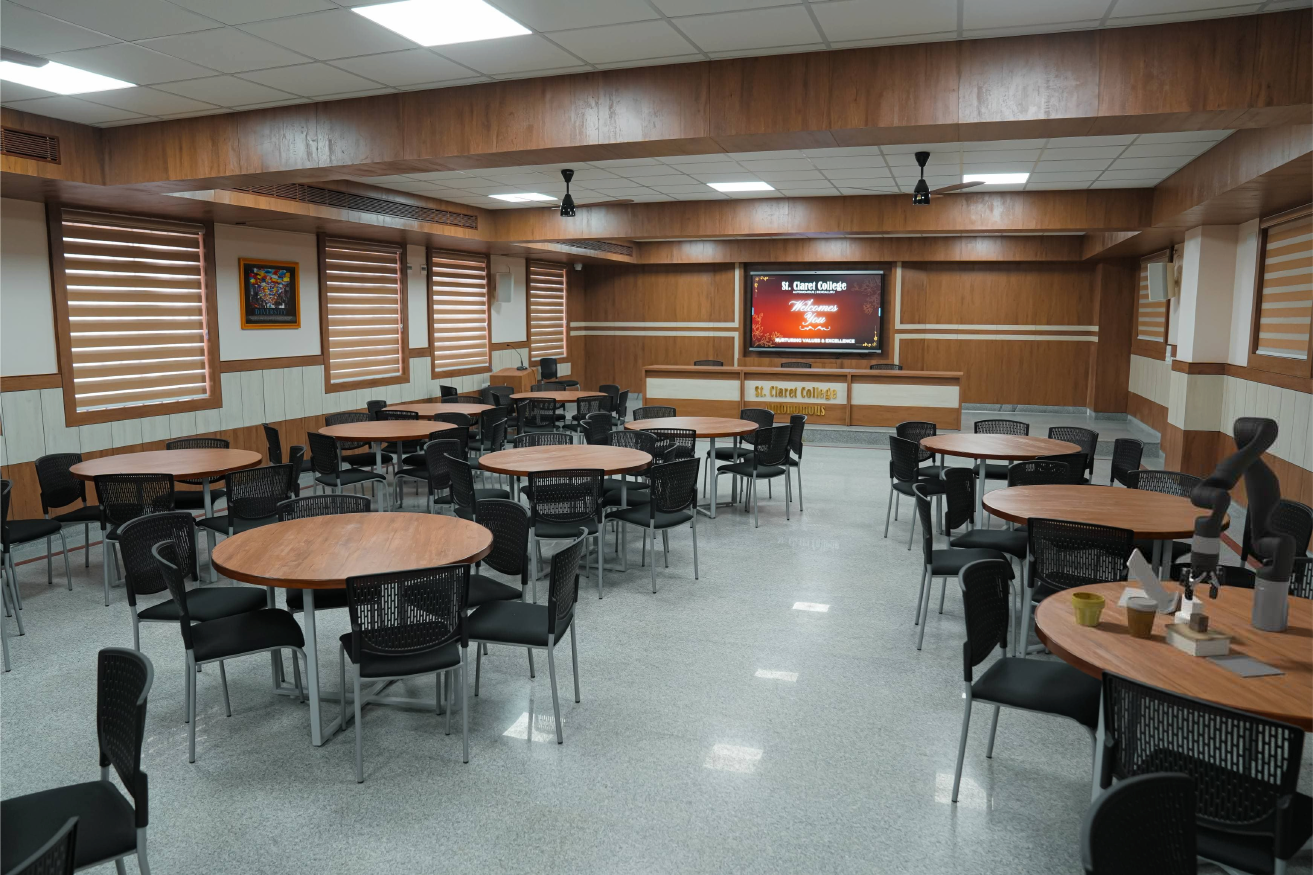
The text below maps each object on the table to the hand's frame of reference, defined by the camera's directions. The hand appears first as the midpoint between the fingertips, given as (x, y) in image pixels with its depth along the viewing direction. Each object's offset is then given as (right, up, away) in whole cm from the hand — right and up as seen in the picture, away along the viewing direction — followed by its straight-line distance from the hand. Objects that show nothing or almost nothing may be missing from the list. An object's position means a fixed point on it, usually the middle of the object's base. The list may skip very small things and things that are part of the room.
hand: (1200, 599), depth 269 cm
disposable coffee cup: (-12, -15, +13) cm, 23 cm away
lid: (0, -11, +2) cm, 11 cm away
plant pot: (-24, -13, +24) cm, 37 cm away
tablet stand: (+11, -10, +47) cm, 49 cm away
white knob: (+6, -14, +15) cm, 22 cm away
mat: (+6, -18, -12) cm, 22 cm away
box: (0, -16, +2) cm, 16 cm away
